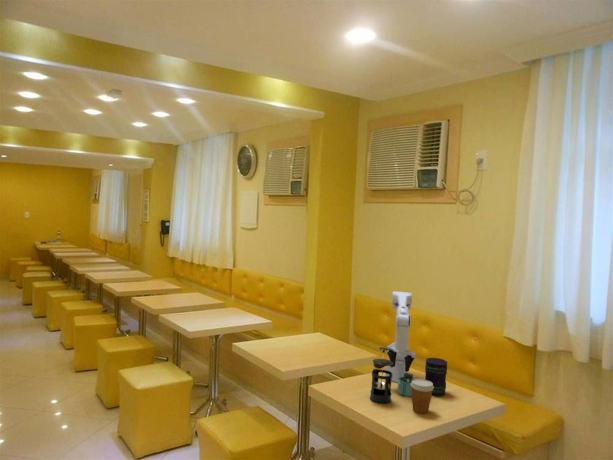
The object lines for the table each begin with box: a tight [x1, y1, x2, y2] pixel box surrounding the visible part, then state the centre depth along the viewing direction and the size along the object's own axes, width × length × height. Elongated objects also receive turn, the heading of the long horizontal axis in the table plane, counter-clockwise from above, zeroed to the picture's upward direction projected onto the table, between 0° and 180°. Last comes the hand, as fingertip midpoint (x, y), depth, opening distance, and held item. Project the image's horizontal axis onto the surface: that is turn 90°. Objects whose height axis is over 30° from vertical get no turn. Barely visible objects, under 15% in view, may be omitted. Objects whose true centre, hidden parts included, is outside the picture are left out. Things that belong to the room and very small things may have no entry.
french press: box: [369, 346, 393, 405], centre depth 202 cm, size 12×9×23 cm
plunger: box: [404, 372, 414, 383], centre depth 212 cm, size 6×6×8 cm
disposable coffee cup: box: [411, 378, 434, 415], centre depth 192 cm, size 10×10×12 cm
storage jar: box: [424, 357, 448, 398], centre depth 214 cm, size 10×10×15 cm
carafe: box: [397, 376, 416, 397], centre depth 212 cm, size 8×10×6 cm
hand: (399, 369), depth 214 cm, fingers open, 7 cm apart
